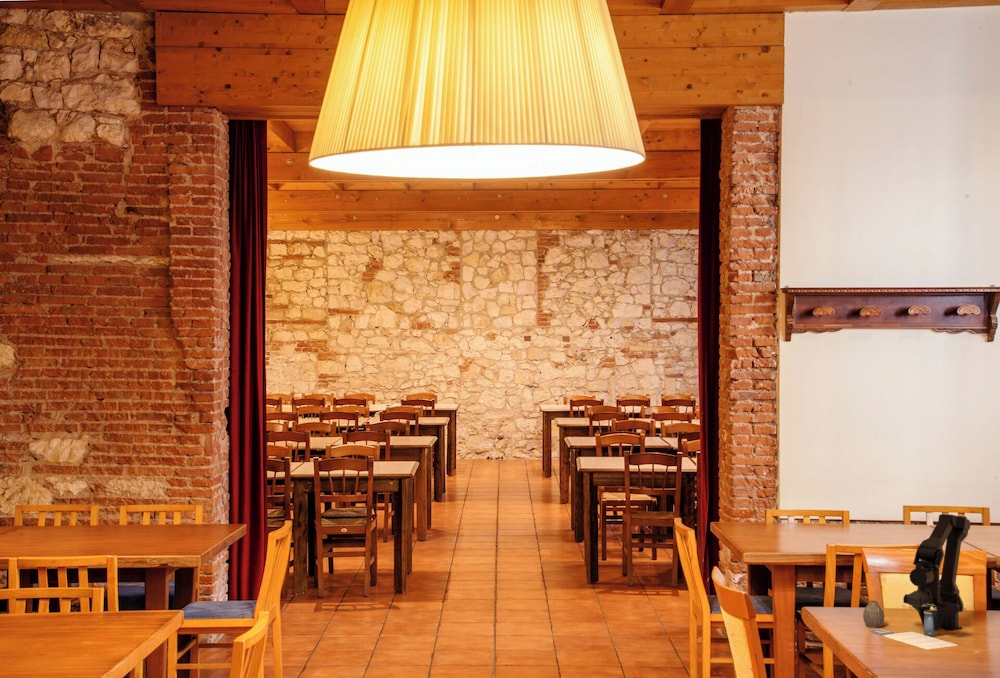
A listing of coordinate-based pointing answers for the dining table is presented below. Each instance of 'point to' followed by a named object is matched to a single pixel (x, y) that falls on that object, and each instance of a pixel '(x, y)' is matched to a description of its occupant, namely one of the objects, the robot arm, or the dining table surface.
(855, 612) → the dining table surface
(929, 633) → the grey capped bottle
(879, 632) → the grey striped tile
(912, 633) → the paper
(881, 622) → the vase
